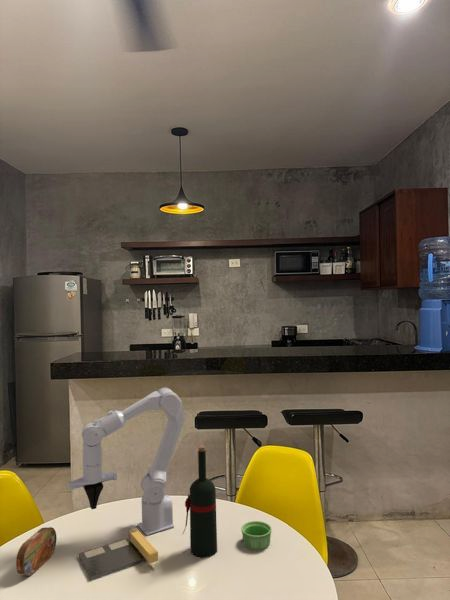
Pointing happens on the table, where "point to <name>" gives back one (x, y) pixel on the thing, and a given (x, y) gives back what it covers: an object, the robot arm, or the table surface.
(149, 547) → the tan wooden beam
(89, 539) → the table surface
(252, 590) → the table surface
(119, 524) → the table surface
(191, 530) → the wine bottle
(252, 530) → the ramekin
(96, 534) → the table surface
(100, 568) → the panel
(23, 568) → the tin
